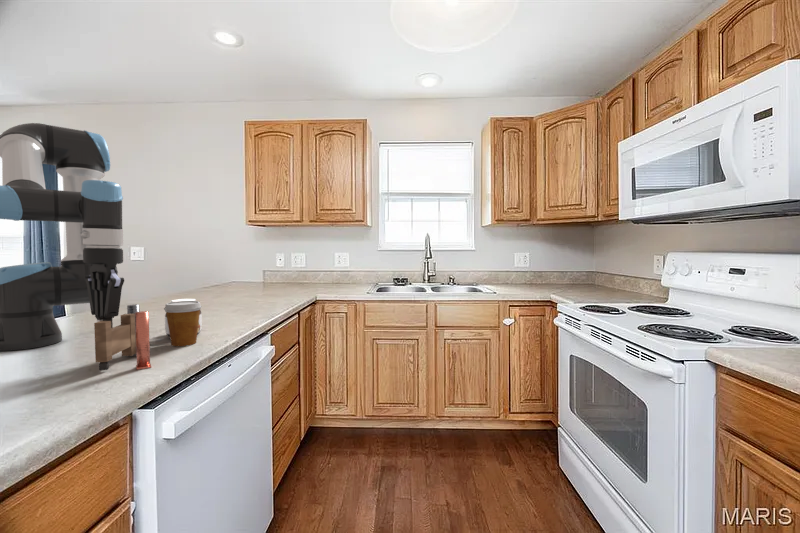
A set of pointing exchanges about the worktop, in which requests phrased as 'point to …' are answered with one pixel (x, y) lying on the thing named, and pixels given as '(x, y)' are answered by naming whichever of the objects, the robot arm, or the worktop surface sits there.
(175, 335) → the disposable coffee cup
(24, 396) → the worktop surface
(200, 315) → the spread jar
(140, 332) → the gate posts
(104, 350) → the gate
